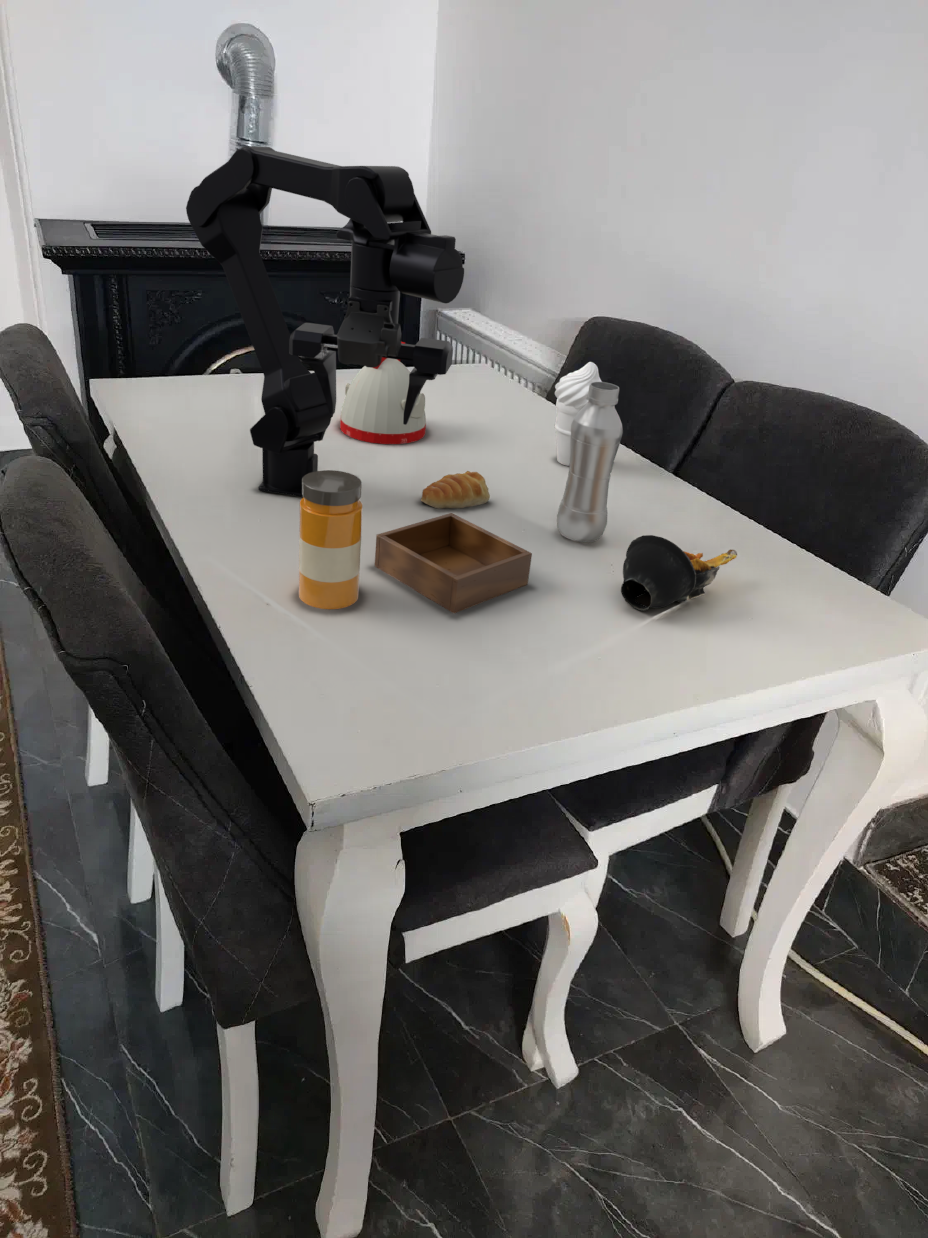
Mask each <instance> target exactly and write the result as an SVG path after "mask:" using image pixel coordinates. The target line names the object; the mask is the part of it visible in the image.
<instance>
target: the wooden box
mask: <svg viewBox="0 0 928 1238" xmlns="http://www.w3.org/2000/svg"><path fill="white" fill-rule="evenodd" d="M374 554H375V555H374V567H375V568H376V569H378V570H380V571H381V572H383V573H385V574H386V575H388V576H390V577H391V578H393V579H395V580H397V581H398V582H399V583H402V584H403V585H405V586H406V587H408V588H410V589H412V590H413V591H415V592H417V593H419V594H420V595H422V596H423V597H425V598H427V599H428V600H431V601H432V602H433V603H435V604H437V605H439V606H441V608H444V609H445V610H447V611H449V612H450V613H452V614H456V613H459V612H461V611H464V610H467V609H469V608H472V607H474V606H477V605H479V604H482V603H484V602H487V601H489V600H492V599H495V598H498V597H500V596H503V595H505V594H507V593H511V592H513V591H516V590H518V589H520V588H523V587H525V586H528V584H529V577H530V571H531V563H532V557H533V552H530V551H528V550H527V549H524V548H522V547H521V546H519V545H516V544H515V543H513V542H510V541H509V540H507V539H504V538H502V537H500V536H498V535H497V534H495V533H493V532H490V531H489V530H486V529H485V528H482V527H480V526H479V525H477V524H475V523H472V522H470V521H469V520H466V519H464V518H462V517H461V516H459V515H456V514H455V513H453V512H450V513H449V512H448V513H446V514H443V515H439V516H435V517H432V518H429V519H426V520H422V521H419V522H415V523H412V524H408V525H405V526H401V527H397V528H395V529H391V530H388V531H385V532H381V533H377V534H376V536H375V553H374Z"/></svg>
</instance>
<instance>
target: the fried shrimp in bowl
mask: <svg viewBox="0 0 928 1238" xmlns="http://www.w3.org/2000/svg"><path fill="white" fill-rule="evenodd" d="M703 557H704V553H703V552H698V553H697V554H694V553H691V552H688V551H684V550H683V549H682V548H681V547H680V546H678V545H677V544H676V543H674V542H673V541H671V540H669V539H667V538H664V537H663V536H658V535H654V534H646V535H641V536H638V537H636V538H635V539H633V540H632V541H631V542H630V543H629V545H628V547H627V549H626V553H625V558H624V561H623V565H622V578H623V580H622V581H623V583H622V584H621V589H620V594H621V596H622V597H623V599H624V601H625V602H626V603H627V604H628V605H629V606H630V607H632V608H633V609H635V610H638V611H642V612H644V611H648V610H649V609H650V608H654V609H657V608H658V609H661V608H664V607H668V606H670V605H671V604H673V603H675V602H677V603H685V602H687V601H689V600H693V599H696V598H700V597H702V596H704V595H706V591H705V589H704V588H705V587H708V586H709V585H711V584H712V582H714V580H715V578H716V575H717V574H718V572H719V570H720V566H724V565H727V564H729V562H731V561H733V560H735V559H736V558H737V557H738V552H737V551H736V550H735V549H728V551H726V552H724V553H720V554H719V555H717V556H715V557H713V558H712V557H711V558H710V559H707V560H702V559H701V558H703ZM648 593H649V595H650V604H649V606H647V605H644V604H642V603H640V602H639V601H637V598H638V597H641V596H643V595H646V594H648Z"/></svg>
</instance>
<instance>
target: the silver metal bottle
mask: <svg viewBox="0 0 928 1238" xmlns="http://www.w3.org/2000/svg"><path fill="white" fill-rule="evenodd" d="M619 394H620V387H619V386H618V385H616V384H613V383H610V382H605V381H602V382H592V383H590V385H589V391H588V394H587V397H586V399H587V400H588V403H587V404H586V405H585V406H584V407H583V408H582V409H581V410H580V411H579V412H578V414H577V415H576V416H575V417H574V419H573V422H572V424H571V442H570V462H569V466H568V473H567V479H566V483H565V488H564V491H563V495H562V499H561V501H560V503H559V507H558V509H557V513H556V527H557V529H558V531H559V533H560V535H561V536H563V537H564V538H566V539H568V540H571V541H574V542H579V543H592V542H596V541H598V540H599V539H600V538H601V537H602V536H603V535H604V533H605V530H606V527H607V525H608V498H609V486H610V480H611V474H612V473H613V467H614V462H615V461H616V456H617V453H618V449H619V448H620V445H621V441H622V437H623V434H624V430H623V423H622V421H621V417H620V415H619V414H618V412H617V409H616V407H615V406H616V405H618V403H619Z"/></svg>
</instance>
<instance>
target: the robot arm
mask: <svg viewBox="0 0 928 1238" xmlns="http://www.w3.org/2000/svg"><path fill="white" fill-rule="evenodd" d="M274 189H275V190H278V191H282V192H285V193H289V194H294V195H298V196H301V197H305V198H310V199H313V200H317V201H322V202H324V203H326V204H328V205H330V206H331V207H332V208H333V209H334V210H335V211H336V212H337V213H339V214H340V215H342V216H344V217H346V218H348V219H349V220H348V221H347V223H346V224H345V225H344V226H343V227H341V228H340V229H338V231H337V232H336V233H335V234H336V235H335V236H336V238H337V239H338V240H342V241H347V242H351V252H350V253H351V255H350V280H349V282H350V284H349V297H347V298H348V299H347V310H346V313H345V316H344V318H343V321H342V323H341V325H340V327H339V329H338V331H337V334H335V330H334V327H333V325H328V324H320V323H313V322H304V323H302V324H301V325H300V326H299V327H297V328H296V329H294V330H293V331H292V332H291V333H290V331H289V328H288V325H287V323H286V320H285V317H284V315H283V312H282V309H281V307H280V303H279V301H278V298H277V295H276V293H275V291H274V288H273V286H272V283H271V280H270V277H269V275H268V274H269V273H268V272H267V269H266V267H265V264H264V261H263V258H262V255H261V244H262V237H263V230H264V229H263V224H262V221H261V216H260V215H261V213H262V212H263V211H264V210H265V209H266V208H267V206H268V205H270V201H271V197H272V192H273V191H272V190H274ZM185 211H186V216H187V220H188V222H189V224H190V226H191V228H192V230H193V232H194V234H195V236H196V238H197V240H198V241H199V243H200V245H201V247H203V249H205V251H207V252H208V253H209V254H210V255H211V257H213V258H214V259H215V260H216V261H217V262H218V263H219V264H220V266H221V267H222V270H223V271H224V274H225V277H226V280H227V282H228V285H229V287H230V289H231V292H232V295H233V298H234V300H235V303H236V306H237V308H238V311H239V313H240V316H241V319H242V322H243V324H244V326H245V329H246V331H247V334H248V337H249V340H250V342H251V344H252V347H253V350H254V352H255V355H256V359H257V360H258V363H259V365H260V368H261V371H262V373H263V384H262V389H261V390H262V391H261V398H260V399H261V404H262V408H263V412H264V414H263V416H262V417H260V418H259V420H258V421H257V422H256V423H255V424H254V425H253V426H252V427H250V429H249V433H250V436H251V440H252V445H253V446H255V447H257V448H260V449H261V451H262V454H261V455H262V461H261V462H262V482H261V483H260V484H259V485H258V486H257V487H258V489H257V490H258V491H260V492H267V493H273V494H281V495H287V496H295V497H301V498H303V495H302V478H303V477H304V476H305V475H307V474H309V473H311V472H315V471H319V469H318V467H319V466H318V465H319V455H318V454H317V453H315V443H316V442H321V441H323V440H324V436H325V434H326V431H327V430H328V428H329V426H330V425H331V422H332V418H333V417H334V415H335V413H336V409H337V407H336V406H337V357H338V362H339V363H340V364H343V365H350V364H353V365H359V366H366V367H370V368H373V367H377V366H379V365H380V363H381V359H382V357H383V358H391V359H398V360H400V361H406V362H412V364H411V365H412V366H413V368H412V369H411V370H410V374H409V387H408V392H407V398H406V403H405V409H404V417H403V424H404V425H407V423H408V421H409V418H410V416H411V413H412V411H413V409H414V406H415V404H416V401H417V399H418V396H419V394H420V393H422V390H423V387H424V386H425V384H426V382H427V381H434V380H435V379H436V378H437V376H438V375H439V376H441V375H442V376H443V375H447V373H448V371H449V370H450V368H451V366H452V364H453V355H454V347H453V345H452V343H451V342H450V341H449V340H443V339H436V338H428V337H427V338H426V337H421V338H420V339H419V340H418V341H417V342H416V344H409V343H405V344H403V343H401V342H403V341H402V328H401V323H399V310H400V298H401V294H404V295H409V296H411V297H416V298H421V299H424V300H429V301H433V302H438V303H440V304H441V303H442V304H449V303H451V302H453V301H454V300H455V299H456V298H457V296H458V295H459V293H460V291H461V289H462V286H463V283H464V278H465V268H464V267H463V260H462V256H461V254H460V253H459V251H458V250H457V249H456V243H457V241H456V236H453V235H447V234H446V235H445V234H443V235H437V234H433V233H432V230H431V228H430V225H429V224H428V220H427V219H426V216H425V214H424V211H423V209H422V208H421V205H420V203H419V200H418V198H417V196H416V194H415V189H414V185H413V181H412V179H411V178H410V174H409V172H408V171H407V170H406V169H405V168H403V167H401V166H398V165H397V166H396V165H338V164H334V163H329V162H326V161H320V160H317V159H313V158H308V157H305V156H300V155H299V156H298V155H295V154H291V153H286V152H282V151H277V150H275V149H274V148H272V147H270V146H247V145H246V146H242V147H240V148H238V149H237V150H236V151H234V153H233V154H232V155H231V157H230V158H229V159H228V160H227V161H226V162H225V163H224V164H222V165H221V166H219V167H218V168H216V169H215V170H213V171H212V172H211V173H209V174H208V175H206V176H205V177H204V178H203V179H202V181H201V182H200V183H199V184H198V185H197V186H194V187H193V189H192V190H191V191H190V194H189V197H188V200H187V202H186V206H185ZM304 364H305V365H308V366H309V367H310V368H311V369H312V371H313V372H310V371H309V369H307V367H305V366H304Z"/></svg>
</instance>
